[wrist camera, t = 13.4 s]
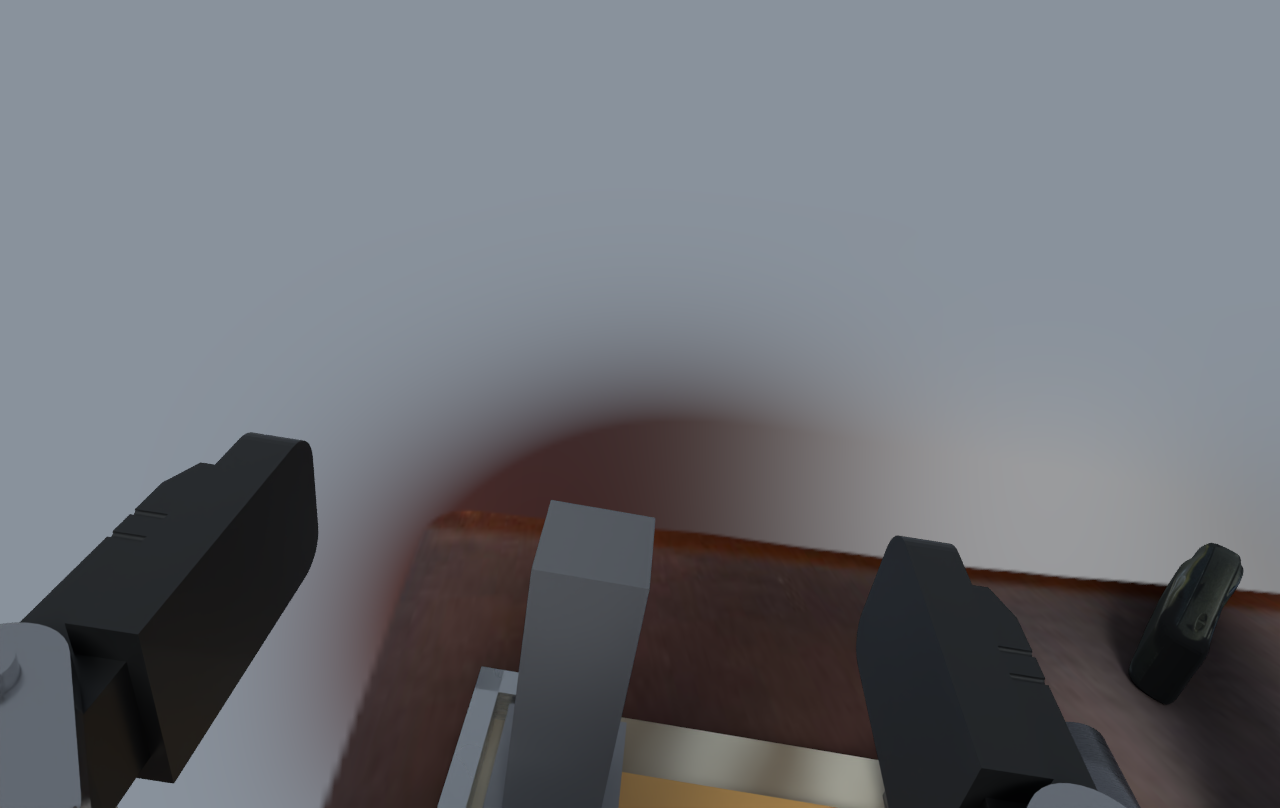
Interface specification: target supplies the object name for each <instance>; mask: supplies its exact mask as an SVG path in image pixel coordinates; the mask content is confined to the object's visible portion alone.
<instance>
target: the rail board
mask: <svg viewBox="0 0 1280 808" xmlns="http://www.w3.org/2000/svg"><path fill="white" fill-rule="evenodd" d="M620 722H626V723H627V725H626V735H625V745H624V756H623V766H622V772H625V773H632V774H638V775H644V776H650V777H656V778H662V779H668V780H674V781H680V782H686V783H692V784H698V785H704V786H710V787H716V788H722V789H728V790H734V791H740V792H746V793H752V794H758V795H764V796H770V797H776V798H782V799H788V800H794V801H800V802H806V803H812V804H818V805H824V806H830V807H837V808H885V805H884V801H883V796H882V795H883V793H884V791H885V788H884V784H883V779H882V774H881V770H880V765H879V760H874V759H868V758H862V757H856V756H850V755H845V754H839V753H833V752H827V751H821V750H815V749H809V748H803V747H797V746H791V745H785V744H779V743H773V742H767V741H761V740H755V739H749V738H743V737H737V736H731V735H725V734H719V733H713V732H707V731H701V730H695V729H689V728H683V727H677V726H671V725H665V724H659V723H653V722H647V721H641V720H635V719H629V718H623V717H621V721H620ZM504 723H505V721H504V720H498V719H495V722H494V726H493V729H492V733H491V737H490V740H489V744H488V747H487V751H486V755H485V758H484V762H483V766H482V769H481V773H480V777H479V780H478V784H477V788H476V791H475V795H474V798H473V802H472V806H471V808H483V804H484V800H485V796H486V792H487V788H488V785H489V781H490V777H491V773H492V769H493V765H494V762H495V758H496V754H497V750H498V746H499V742H500V739H501V735H502V731H503V727H504Z"/></svg>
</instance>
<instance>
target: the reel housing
mask: <svg viewBox="0 0 1280 808" xmlns="http://www.w3.org/2000/svg"><path fill="white" fill-rule="evenodd" d="M1066 724H1067V726H1068V728H1069V731H1070V733H1071V735H1072V737H1073V739H1074V741H1075V743H1076V746H1077V748H1078V750H1079V752H1080V754H1081V756H1082V758H1083V761H1084V763H1085V765H1086V767H1087V769H1088V771H1089V773H1090V775H1091V778H1092V780H1093V782H1094V784H1095V786H1096V788H1097V790H1098V792H1101V793H1103V794H1105V795H1107V796H1109V797H1110V798H1112V799H1114V800H1116V801H1117V802H1119V803H1120V804H1122V805H1123V806H1125V807H1126V808H1140V806H1139V804H1138V802H1137V800H1136V798H1135V796H1134V794H1133V792H1132V790H1131V789H1130V787H1129V785H1128V783H1127V781H1126V779H1125V777H1124V775H1123V773H1122V772H1121V770H1120V768H1119V766H1118V764H1117V762H1116V760H1115V758H1114V756H1113V755H1112V753H1111V751H1110V749H1109V747H1108V745H1107V743H1106V741H1105V739H1104V738H1103V736H1102V735H1101V734H1100V733H1099V732H1098V731H1097V730H1095V729H1094V728H1092V727H1090V726H1088V725H1085V724H1081V723H1075V722H1066ZM882 796H883V801H884V805H885V808H889V807H888V802H887V797H886V793H885V791H884V793H883V795H882Z"/></svg>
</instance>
